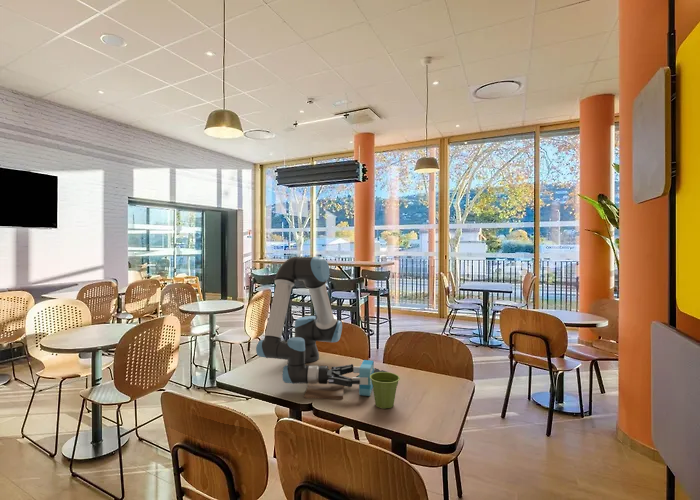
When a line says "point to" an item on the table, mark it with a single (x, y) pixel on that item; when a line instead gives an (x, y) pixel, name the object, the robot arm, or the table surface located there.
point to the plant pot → (384, 388)
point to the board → (324, 391)
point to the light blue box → (366, 371)
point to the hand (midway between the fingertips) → (367, 375)
